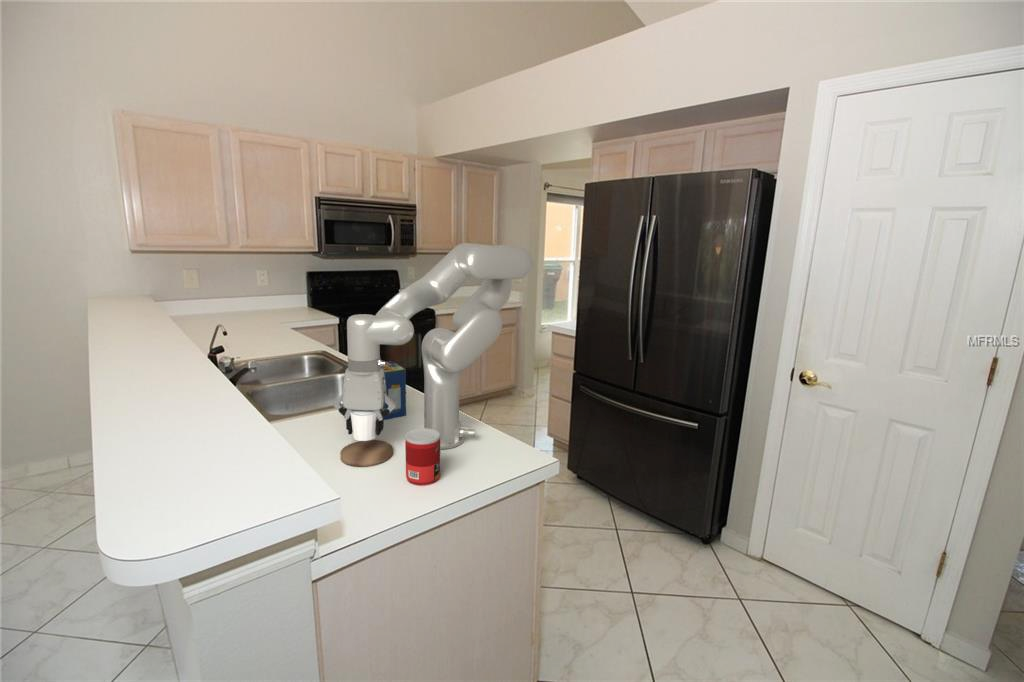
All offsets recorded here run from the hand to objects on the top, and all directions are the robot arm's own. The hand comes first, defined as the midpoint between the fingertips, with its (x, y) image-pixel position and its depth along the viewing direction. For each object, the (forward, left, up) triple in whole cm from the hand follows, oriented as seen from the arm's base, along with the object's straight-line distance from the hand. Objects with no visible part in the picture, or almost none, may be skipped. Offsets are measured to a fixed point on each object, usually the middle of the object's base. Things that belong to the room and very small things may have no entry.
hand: (365, 432), depth 121 cm
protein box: (+4, -27, -7) cm, 28 cm away
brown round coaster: (0, 0, -6) cm, 6 cm away
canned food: (-16, +11, -7) cm, 21 cm away
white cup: (0, 0, -1) cm, 1 cm away
